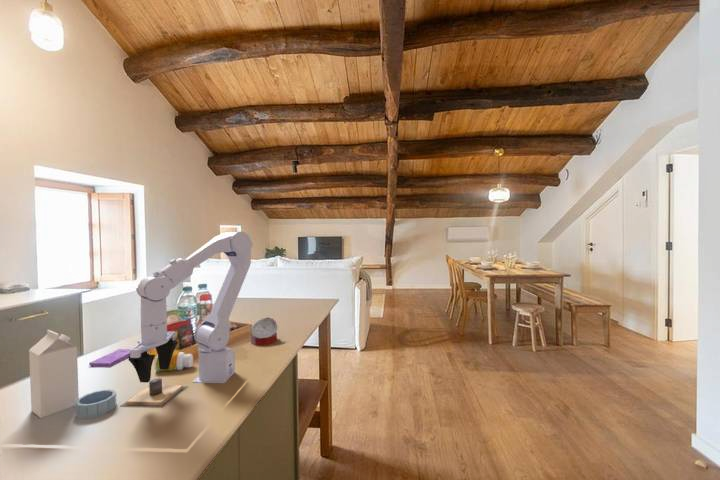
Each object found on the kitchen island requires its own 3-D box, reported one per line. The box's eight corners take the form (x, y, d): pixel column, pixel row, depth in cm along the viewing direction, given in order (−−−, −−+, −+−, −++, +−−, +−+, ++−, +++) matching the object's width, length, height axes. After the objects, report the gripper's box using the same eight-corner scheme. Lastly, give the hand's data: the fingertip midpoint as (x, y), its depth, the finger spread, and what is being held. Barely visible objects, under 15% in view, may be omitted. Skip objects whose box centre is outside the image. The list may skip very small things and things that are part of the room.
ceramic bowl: (123, 403, 84) (123, 390, 84) (98, 420, 77) (98, 405, 77) (95, 403, 85) (94, 389, 84) (67, 419, 77) (67, 405, 77)
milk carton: (41, 419, 77) (38, 338, 77) (31, 411, 81) (28, 333, 80) (79, 405, 83) (76, 330, 83) (68, 398, 87) (65, 326, 86)
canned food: (277, 350, 134) (287, 330, 132) (257, 356, 125) (267, 334, 123) (261, 333, 139) (270, 313, 137) (241, 337, 131) (250, 316, 129)
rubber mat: (188, 388, 92) (188, 386, 92) (162, 409, 81) (162, 407, 81) (150, 387, 93) (150, 385, 93) (119, 408, 82) (119, 406, 82)
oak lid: (182, 388, 91) (182, 373, 91) (161, 405, 82) (161, 389, 82) (151, 387, 92) (150, 373, 92) (126, 404, 83) (125, 388, 83)
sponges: (138, 353, 120) (137, 348, 120) (109, 368, 107) (109, 362, 107) (119, 353, 120) (119, 348, 120) (89, 368, 108) (88, 362, 108)
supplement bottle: (152, 370, 100) (186, 368, 101) (156, 351, 103) (189, 349, 104) (159, 373, 105) (192, 370, 106) (162, 355, 107) (194, 353, 109)
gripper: (157, 315, 94) (158, 363, 94) (117, 331, 79) (118, 387, 80) (182, 316, 94) (182, 364, 94) (145, 331, 79) (147, 388, 79)
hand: (155, 375), depth 87 cm, fingers open, 7 cm apart
